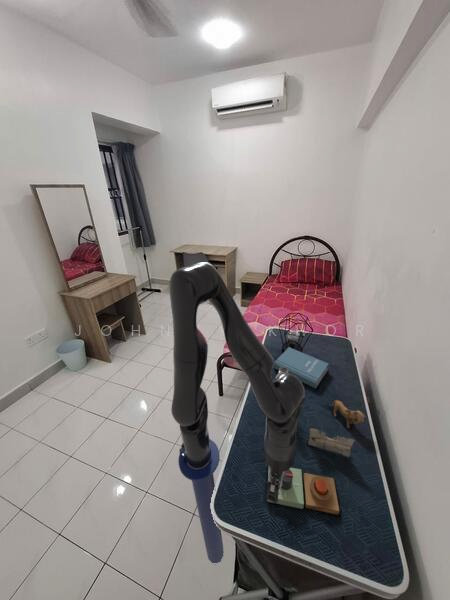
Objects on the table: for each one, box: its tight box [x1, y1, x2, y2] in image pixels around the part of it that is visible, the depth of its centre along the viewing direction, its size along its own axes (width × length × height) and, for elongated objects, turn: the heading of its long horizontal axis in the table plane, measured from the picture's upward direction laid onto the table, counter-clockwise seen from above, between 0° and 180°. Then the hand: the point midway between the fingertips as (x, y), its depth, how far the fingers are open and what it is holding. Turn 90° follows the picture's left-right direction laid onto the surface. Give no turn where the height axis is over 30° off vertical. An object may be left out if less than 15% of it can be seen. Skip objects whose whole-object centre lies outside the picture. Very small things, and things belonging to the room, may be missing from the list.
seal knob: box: [278, 469, 293, 490], centre depth 77 cm, size 4×4×5 cm
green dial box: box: [266, 467, 305, 510], centre depth 79 cm, size 11×10×3 cm
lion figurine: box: [327, 400, 366, 429], centre depth 99 cm, size 15×5×9 cm, turn 35°
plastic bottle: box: [274, 367, 288, 380], centre depth 105 cm, size 6×7×20 cm
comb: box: [307, 427, 356, 458], centre depth 87 cm, size 15×2×10 cm, turn 70°
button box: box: [302, 472, 340, 516], centre depth 76 cm, size 10×9×4 cm
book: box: [273, 346, 330, 389], centre depth 126 cm, size 23×16×5 cm
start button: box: [315, 479, 328, 495], centre depth 75 cm, size 4×4×2 cm
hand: (276, 481), depth 66 cm, fingers open, 8 cm apart
